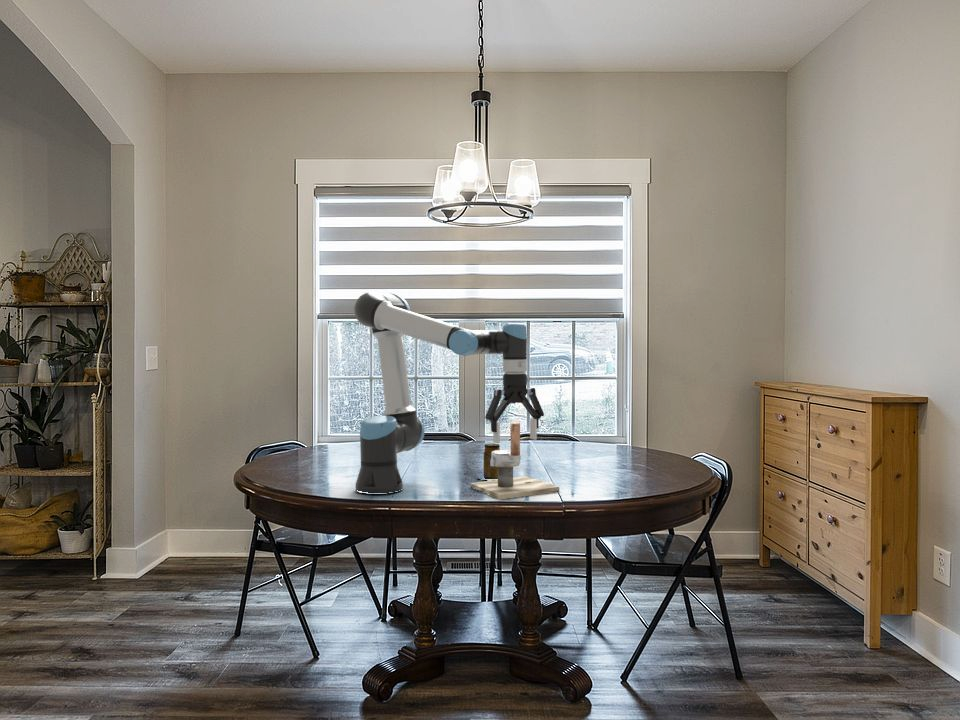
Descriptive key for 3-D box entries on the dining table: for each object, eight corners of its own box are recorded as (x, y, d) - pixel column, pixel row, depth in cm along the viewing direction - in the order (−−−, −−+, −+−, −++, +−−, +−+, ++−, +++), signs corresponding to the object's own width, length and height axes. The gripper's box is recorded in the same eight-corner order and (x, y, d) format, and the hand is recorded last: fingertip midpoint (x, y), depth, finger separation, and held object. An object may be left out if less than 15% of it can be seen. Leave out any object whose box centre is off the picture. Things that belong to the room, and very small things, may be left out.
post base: (470, 487, 223) (470, 463, 223) (526, 480, 234) (526, 457, 234) (500, 499, 207) (500, 473, 207) (559, 491, 218) (559, 466, 217)
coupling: (484, 463, 221) (484, 420, 220) (511, 460, 226) (511, 418, 225) (503, 470, 210) (503, 424, 210) (531, 466, 215) (531, 422, 215)
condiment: (505, 477, 240) (504, 443, 240) (495, 482, 232) (495, 447, 232) (485, 475, 243) (485, 442, 243) (476, 480, 235) (476, 445, 235)
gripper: (486, 374, 204) (486, 445, 204) (554, 372, 216) (554, 439, 217) (474, 373, 210) (474, 442, 211) (541, 371, 222) (541, 436, 223)
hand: (515, 441), depth 214 cm, fingers open, 13 cm apart
